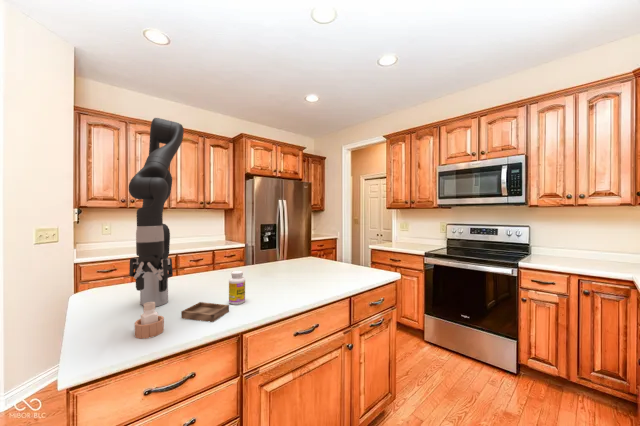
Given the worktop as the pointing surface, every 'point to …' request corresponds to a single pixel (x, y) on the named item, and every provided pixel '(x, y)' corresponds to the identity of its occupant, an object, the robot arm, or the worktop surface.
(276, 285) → the worktop surface
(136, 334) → the collar
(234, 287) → the supplement bottle
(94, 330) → the worktop surface
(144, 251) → the robot arm
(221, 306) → the tray
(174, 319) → the worktop surface
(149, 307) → the salt shaker
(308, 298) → the worktop surface
